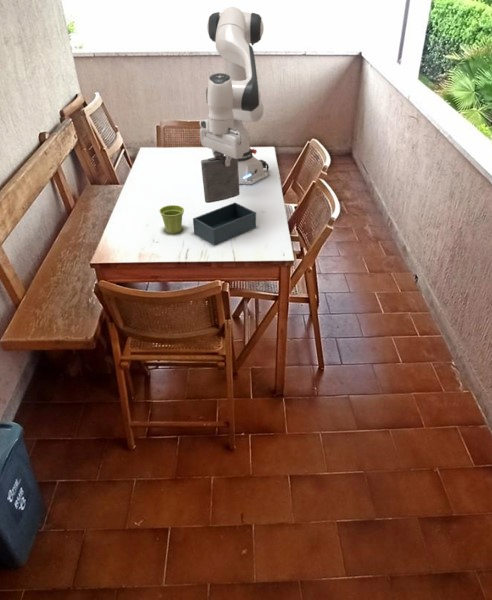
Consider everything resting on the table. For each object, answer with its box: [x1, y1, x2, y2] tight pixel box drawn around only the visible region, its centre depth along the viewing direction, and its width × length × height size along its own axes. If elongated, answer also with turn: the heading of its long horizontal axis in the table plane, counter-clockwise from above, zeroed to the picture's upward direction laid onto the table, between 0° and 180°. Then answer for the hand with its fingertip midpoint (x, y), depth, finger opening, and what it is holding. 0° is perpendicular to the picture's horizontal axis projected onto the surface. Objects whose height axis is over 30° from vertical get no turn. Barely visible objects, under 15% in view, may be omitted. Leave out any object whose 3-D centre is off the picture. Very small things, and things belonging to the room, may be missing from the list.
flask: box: [200, 152, 241, 204], centre depth 180 cm, size 4×14×18 cm, turn 118°
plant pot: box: [158, 204, 185, 234], centre depth 190 cm, size 9×9×9 cm
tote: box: [192, 202, 257, 246], centre depth 191 cm, size 22×13×7 cm, turn 133°
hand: (222, 163), depth 178 cm, fingers closed on flask, 4 cm apart
